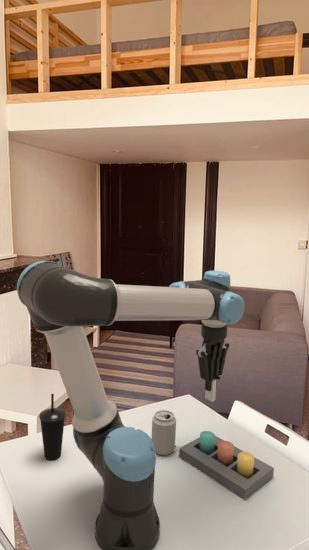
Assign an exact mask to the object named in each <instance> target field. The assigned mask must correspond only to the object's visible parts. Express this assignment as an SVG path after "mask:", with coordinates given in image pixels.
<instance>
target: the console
mask: <svg viewBox="0 0 309 550" xmlns="http://www.w3.org/2000/svg"><path fill="white" fill-rule="evenodd" d="M221 441H225V440H224V439H223V438H220V437H219V436H217V435H215V446H214V452H213V453H211V454H205V453H203V452H202V451H200V450H199V443H200V436H199V437H197V438H195V439H193V440H191V441H190V442H188V443H186V444H185V445H183V446H181V447H179V450H178V451H179V452H178V458H180V459H181V460H182V461H184V462H186V463H187V464H188V465H190V466H192V467H193V466H194V467H193V468H195V469H196V468H197V469H196V470H198V471H199V470H200V471H199V472H201V473H202V474H204V475H205V474H206V476H207V477H209V478H210V479H212V480H213V481H215V482H216V483H218V484H219V485H221V486H223V488H225V489H227V490H229V491H230V492H232V493H233V494H235V495H236V496H238V498H241V499H242V500H243V501H246V500H247V499H248V498H249V497H250V496H252V495H253V494H254V493H255V492H257V491H258V490H260V488H262V487H263V486H264V485H266V483H268V482H269V481H271V480H272V479H274V474H275V473H274V471H275V467H273V466H271V465H269V463H266V462H264V461H262V460H260V459H259V458H257V457H256V456H254V470H253V476H252V477H250V478H245V477H243V476H241V475H240V474H238V473H237V459H238V453H240V452H245V451H244V450H243V449H240V448H239V447H236V446H235V445H234V452H233V463H232V464H231V465H229V466H225V465H223V464H222V463H220V462H218V461H217V453H218V443H219V442H221Z"/></svg>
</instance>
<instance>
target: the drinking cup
mask: <svg viewBox="0 0 309 550" xmlns="http://www.w3.org/2000/svg"><path fill="white" fill-rule="evenodd" d="M54 394H55V393H51V394H50V397H51V398H50V402H51V404H50V406H51V407H49V408H46V409H44V410H42V411H41V412H40V413H39V415H38V418H39V420H40V429H41V435H42V436H41V437H42V445H43V454H44V455H43V456H44V459H45V460H46V461H50V462H51V461H54V462H55V461H56V460H59V459H60V458H61V457H62V450H63V449H62V448H63V447H62V446H63V438H64V437H63V435H64V425H65V418H66V415H67V414H66V410H64V408H61V407H60V408H59V407H55V405H54V404H55V402H54V398H55V397H54Z"/></svg>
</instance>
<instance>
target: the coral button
mask: <svg viewBox="0 0 309 550" xmlns="http://www.w3.org/2000/svg"><path fill="white" fill-rule="evenodd" d="M234 446H235V444H233V442H230V441H227V440H224V441H221V442H219V443H218V453H217V461H218V462H220V463H222V464H223V465H225V466H229V465H231V464H232V463H233V452H234Z"/></svg>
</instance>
